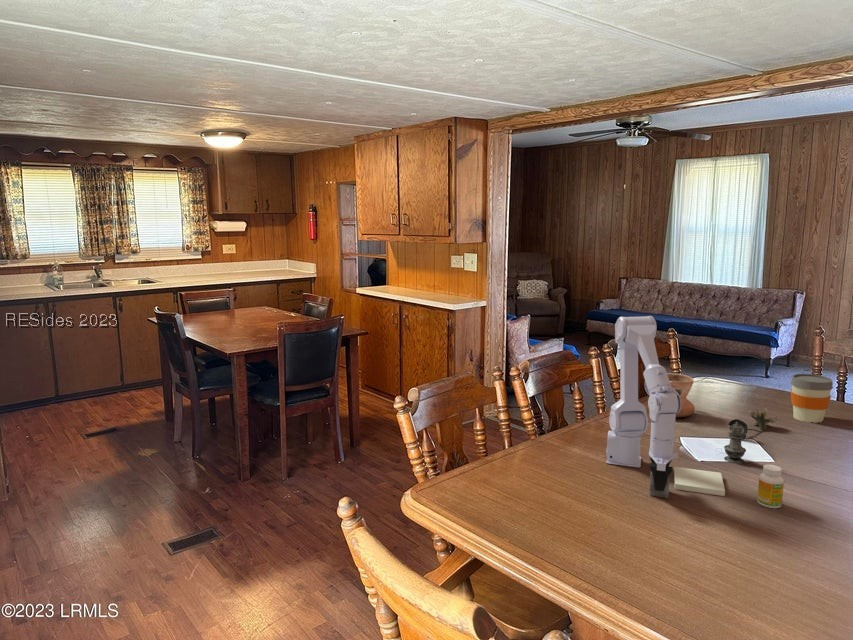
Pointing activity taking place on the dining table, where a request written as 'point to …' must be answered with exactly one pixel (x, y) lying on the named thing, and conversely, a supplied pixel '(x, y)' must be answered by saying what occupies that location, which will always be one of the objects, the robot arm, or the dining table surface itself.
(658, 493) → the slate block
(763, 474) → the supplement bottle
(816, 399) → the reusable coffee cup
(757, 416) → the artificial flower
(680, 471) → the cream square slab
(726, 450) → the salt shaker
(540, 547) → the dining table surface
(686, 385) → the ceramic jug
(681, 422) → the dining table surface
